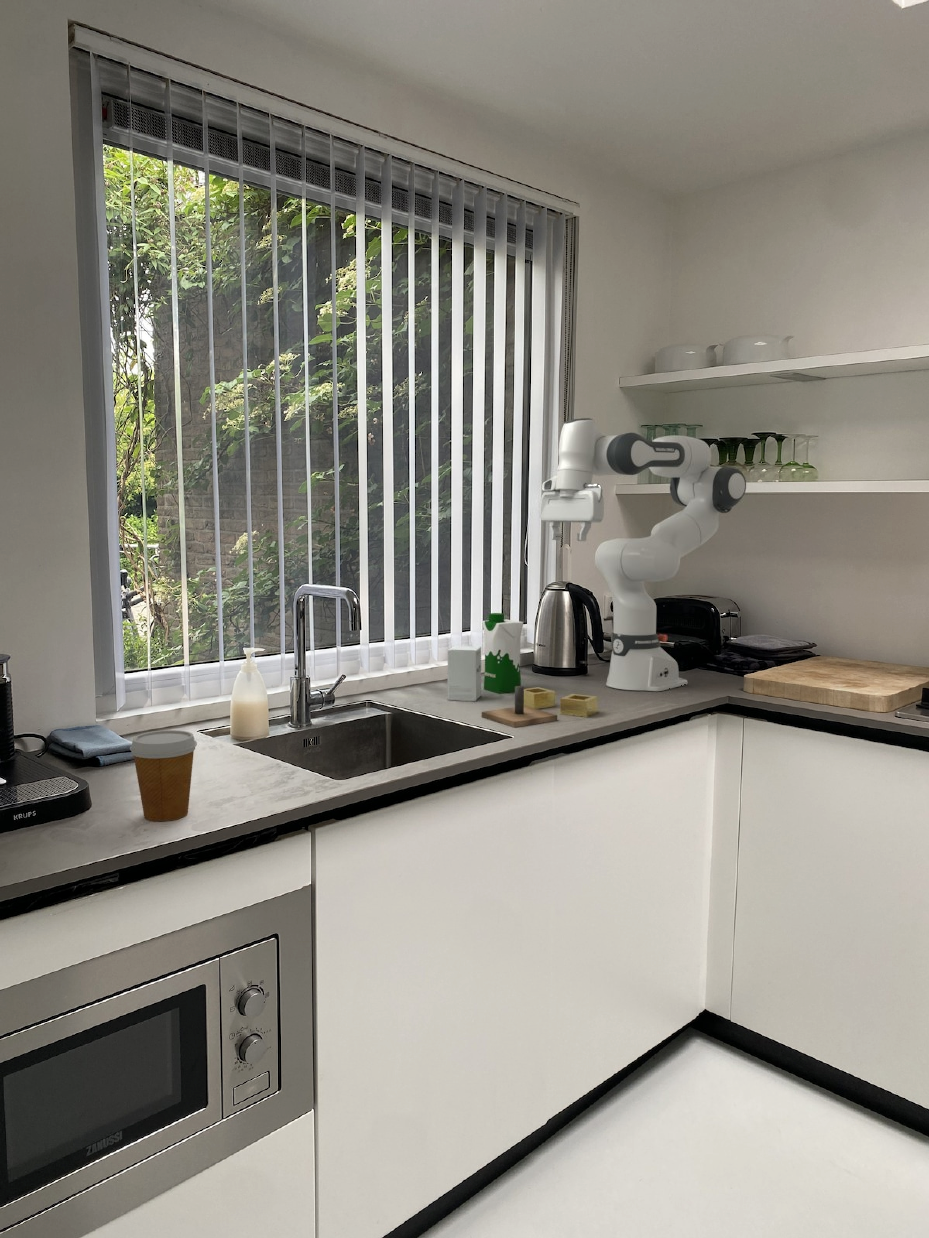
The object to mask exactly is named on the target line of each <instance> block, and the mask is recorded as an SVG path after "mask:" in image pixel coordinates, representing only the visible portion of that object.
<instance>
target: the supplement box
mask: <svg viewBox="0 0 929 1238" xmlns="http://www.w3.org/2000/svg"><path fill="white" fill-rule="evenodd" d="M481 696H482V646H479V645H475V646H473V645H453V646H452V647H450V648H448V649H447V699H446V700H448V701H462V702H476V701H477V700H478V699H479V698H480V697H481Z"/></svg>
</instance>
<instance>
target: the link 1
mask: <svg viewBox="0 0 929 1238" xmlns="http://www.w3.org/2000/svg"><path fill="white" fill-rule="evenodd" d="M524 706H527V707H530V708H534V709H538V710H541V709H546V708H553V707H556V691H555V690H551V689H548V688H543V687H539V686H537V687H536V686H535V687H528V688H524Z"/></svg>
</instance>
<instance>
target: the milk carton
mask: <svg viewBox="0 0 929 1238" xmlns="http://www.w3.org/2000/svg"><path fill="white" fill-rule="evenodd" d="M481 623H482V629H483V635H484V675H483V676H484V677H483V680H484V681H483V690H485V691H489V692H493V693H496V694H507V693H513V692H514V693H515V686H522V680H521V678H522V677H521V641H522V640H521V637H522V632H523V626H524V621H520V620H519V621H518V620H512V619H508V618H507V619H505V614H504V613H501V612H492V613H488V620H482V621H481Z"/></svg>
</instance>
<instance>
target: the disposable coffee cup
mask: <svg viewBox="0 0 929 1238" xmlns="http://www.w3.org/2000/svg"><path fill="white" fill-rule="evenodd" d="M197 744H198V742H197V740H195V736H194V733H193V732H190V731H186V730H178V729H177V730H176V729H175V730H174V729H173V730H172V729H169V730H167V729H165V730H155V731H149V732H144V733H140V734H137V735H136V736H134V737H133V738H132V743H131V745H130V746H129V750H130V751H131V755H133V759H134V760H133V761H134V765H135V772H136V776H137V777H136V778H137V783H138V788H139V795H140V799H141V800H140V801H141V805H142V811H143V818H144V819H146V820H147V821H151V822H168V821H169V822H170V821H174V820H178V819H181V818H183V817H184V818H185V817H186V816H187V815H189V806H190V805H189V804H190V795H191V783H192V776H193V775H192V773H193V763H194V762H193V761H194V755H195V754H194V753H195V750H196V747H197Z"/></svg>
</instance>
